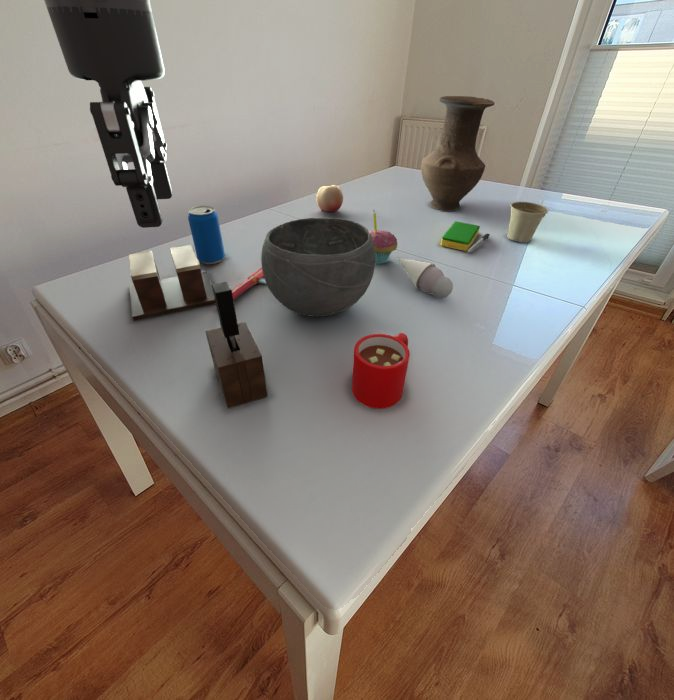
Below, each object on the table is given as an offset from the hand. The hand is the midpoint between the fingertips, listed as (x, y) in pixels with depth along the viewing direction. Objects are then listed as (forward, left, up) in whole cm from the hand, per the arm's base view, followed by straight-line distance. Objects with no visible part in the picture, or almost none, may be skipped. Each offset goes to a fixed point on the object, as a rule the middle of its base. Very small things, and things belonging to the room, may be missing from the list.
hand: (157, 211), depth 40 cm
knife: (+67, +41, -27) cm, 83 cm away
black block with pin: (+5, +1, -27) cm, 28 cm away
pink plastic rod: (+9, +32, -27) cm, 43 cm away
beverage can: (-1, +46, -27) cm, 53 cm away
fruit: (+34, +75, -27) cm, 87 cm away
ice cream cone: (+44, +24, -27) cm, 57 cm away
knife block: (+5, +1, -27) cm, 28 cm away
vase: (+73, +74, -27) cm, 107 cm away
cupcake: (+39, +39, -27) cm, 61 cm away
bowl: (+21, +21, -27) cm, 40 cm away
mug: (+27, -3, -27) cm, 38 cm away
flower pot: (+82, +45, -27) cm, 97 cm away
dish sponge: (+65, +47, -27) cm, 85 cm away
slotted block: (-8, +30, -27) cm, 41 cm away
